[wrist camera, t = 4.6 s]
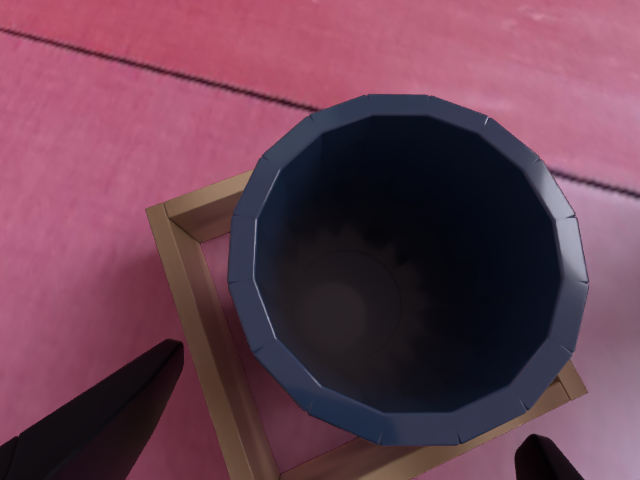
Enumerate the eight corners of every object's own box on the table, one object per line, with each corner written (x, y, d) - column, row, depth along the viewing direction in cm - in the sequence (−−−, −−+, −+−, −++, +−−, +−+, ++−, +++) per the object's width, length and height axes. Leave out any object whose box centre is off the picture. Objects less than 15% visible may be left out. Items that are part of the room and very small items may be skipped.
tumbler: (312, 390, 18) (309, 520, 5) (266, 271, 19) (181, 158, 7) (427, 338, 19) (659, 348, 6) (375, 227, 20) (478, 52, 8)
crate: (269, 499, 17) (254, 557, 13) (181, 235, 20) (144, 208, 16) (523, 378, 18) (589, 392, 14) (405, 150, 21) (429, 103, 17)
